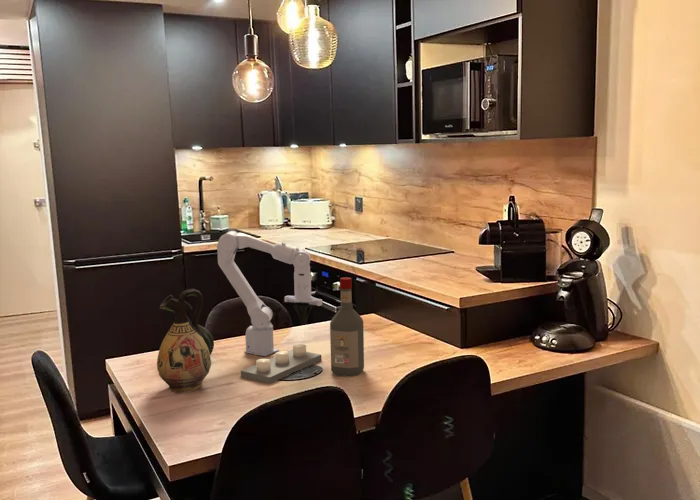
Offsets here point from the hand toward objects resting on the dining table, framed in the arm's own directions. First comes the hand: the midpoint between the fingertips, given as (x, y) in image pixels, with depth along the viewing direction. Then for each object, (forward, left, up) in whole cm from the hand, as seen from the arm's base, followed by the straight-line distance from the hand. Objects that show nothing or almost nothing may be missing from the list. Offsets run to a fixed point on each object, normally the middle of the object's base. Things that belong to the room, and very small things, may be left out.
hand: (303, 323), depth 226 cm
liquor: (+25, -10, -10) cm, 29 cm away
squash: (-26, -28, -10) cm, 40 cm away
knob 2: (+5, -9, -10) cm, 14 cm away
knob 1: (+5, -27, -10) cm, 29 cm away
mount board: (+5, -18, -10) cm, 21 cm away
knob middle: (+5, -18, -10) cm, 21 cm away
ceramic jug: (-8, -46, -10) cm, 48 cm away
